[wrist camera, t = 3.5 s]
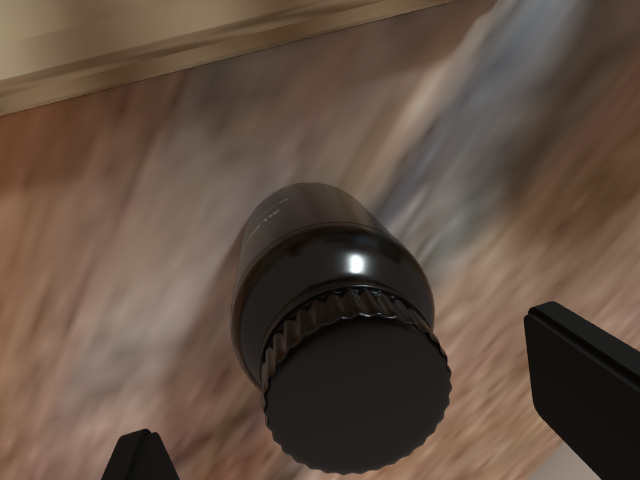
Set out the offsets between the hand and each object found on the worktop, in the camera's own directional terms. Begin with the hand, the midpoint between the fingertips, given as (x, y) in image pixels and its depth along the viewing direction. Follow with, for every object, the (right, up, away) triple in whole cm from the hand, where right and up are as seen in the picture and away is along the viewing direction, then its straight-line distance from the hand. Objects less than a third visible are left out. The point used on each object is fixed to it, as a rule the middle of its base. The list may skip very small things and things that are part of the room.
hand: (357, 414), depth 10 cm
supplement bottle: (-2, +4, +11) cm, 12 cm away
